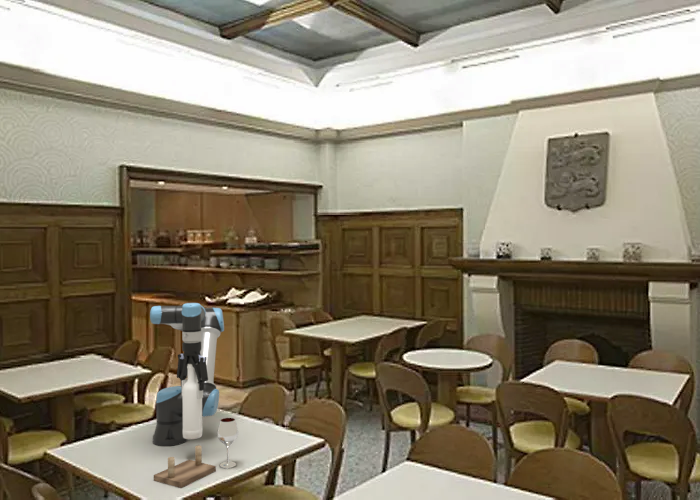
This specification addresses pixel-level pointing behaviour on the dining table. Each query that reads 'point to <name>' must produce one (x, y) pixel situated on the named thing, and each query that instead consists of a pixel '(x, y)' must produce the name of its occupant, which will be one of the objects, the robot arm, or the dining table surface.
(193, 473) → the stand
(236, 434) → the wineglass
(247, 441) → the dining table surface
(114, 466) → the dining table surface
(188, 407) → the bottle
